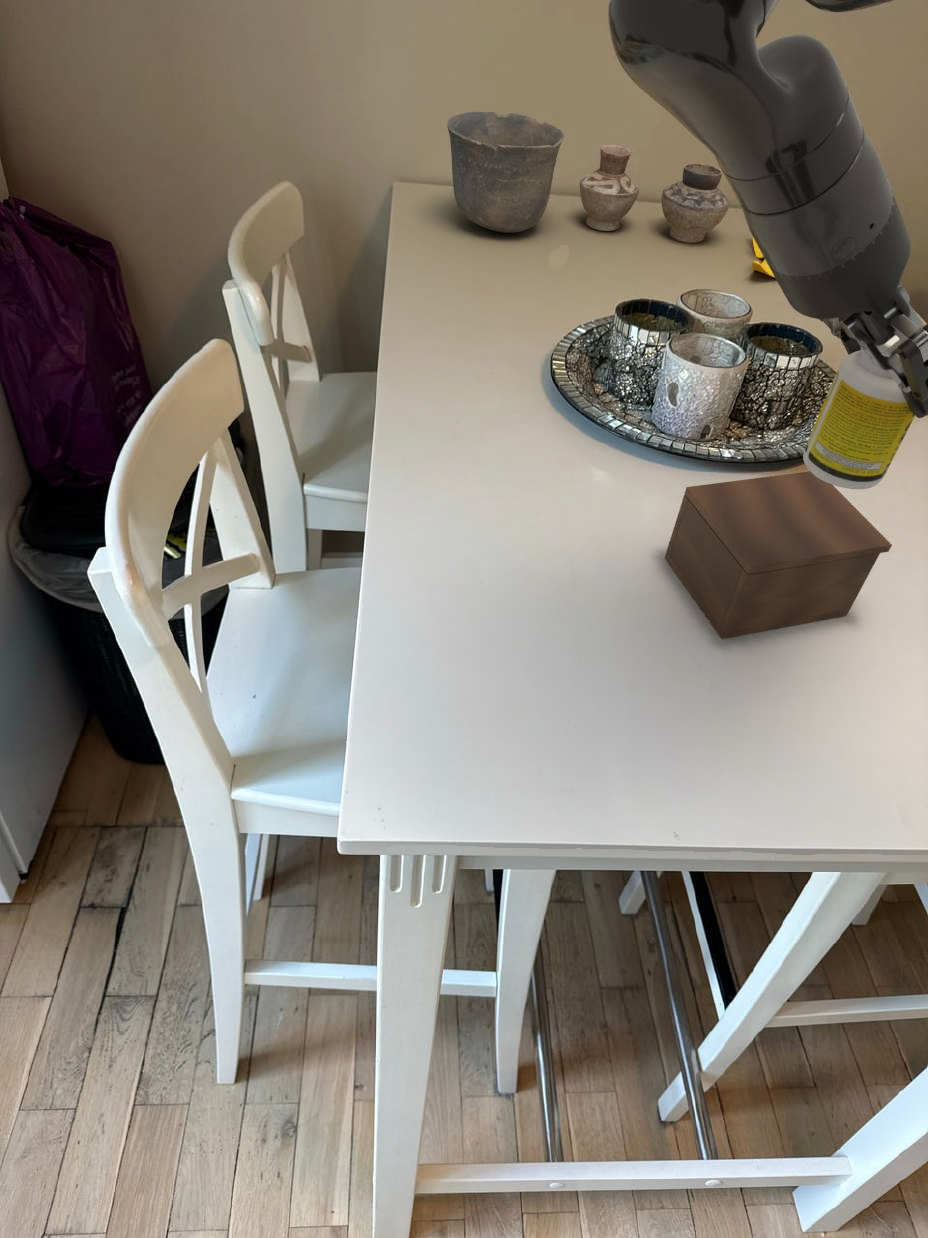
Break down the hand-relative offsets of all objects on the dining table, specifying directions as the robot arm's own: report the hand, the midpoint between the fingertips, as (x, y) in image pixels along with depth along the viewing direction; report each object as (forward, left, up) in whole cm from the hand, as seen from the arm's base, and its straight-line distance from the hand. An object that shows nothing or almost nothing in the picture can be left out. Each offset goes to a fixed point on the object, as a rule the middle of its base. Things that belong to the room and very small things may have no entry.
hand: (898, 382), depth 64 cm
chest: (+4, -4, -25) cm, 26 cm away
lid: (+4, -4, -18) cm, 19 cm away
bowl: (+70, -65, -26) cm, 99 cm away
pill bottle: (+1, +1, -8) cm, 8 cm away
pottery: (+50, -82, -26) cm, 99 cm away
